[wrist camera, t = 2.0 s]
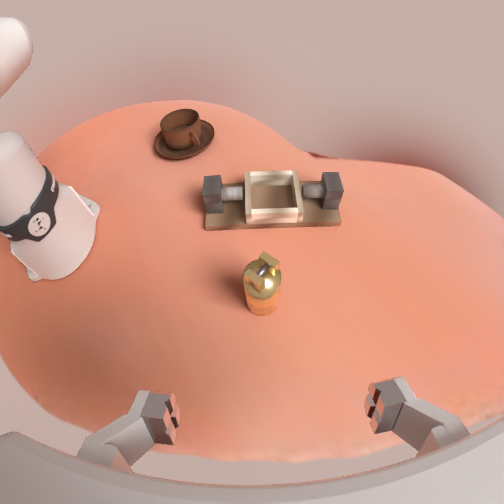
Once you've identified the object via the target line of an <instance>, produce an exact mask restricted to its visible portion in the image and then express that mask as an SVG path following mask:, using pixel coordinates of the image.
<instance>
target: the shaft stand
mask: <svg viewBox="0 0 504 504" xmlns="http://www.w3.org/2000/svg"><path fill="white" fill-rule="evenodd" d="M343 192H344V190H343V186H342V183H341V179H340V176H339V172H323V174H322V179H321V181H299V179H298V173H297V171H260V172H245V183H234V184H222V180H221V175H215V176H204V183H203V192H202V196H203V200H204V204H205V207H206V221H205V228H206V231H212V230H234V229H257V228H284V227H317V226H340V224H341V222H342V221H341V217H340V212H339V208H338V207H339V204H340V201H341V198H342V195H343Z"/></svg>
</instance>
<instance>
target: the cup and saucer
mask: <svg viewBox="0 0 504 504" xmlns="http://www.w3.org/2000/svg"><path fill="white" fill-rule="evenodd" d="M160 126H161V129H162V131H161V132H160V133H159V134H158V135H157V137H156V138H155V141H154V147H155V150H156V151H157V152H158V153H159V154H160V155H161V156H163V157H166V158H171V159H181V158H187V157H190V156H193V155H196V154H198V153H199V152H201V151H203V150H204V149H205V148H206V147H208V146H209V144H210V143H211V142H212V140H213V138H214V128H213V126H212V125H211V124H210V123H208V122H206V121H204V120H200V119H199V114H198V113H197V112H196V111H195V110H192V109H180V110H176V111H173V112H171V113H169V114H167V115H166V116H165V117H164V118H163V119H162V120H161V123H160Z"/></svg>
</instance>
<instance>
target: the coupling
mask: <svg viewBox="0 0 504 504" xmlns="http://www.w3.org/2000/svg"><path fill="white" fill-rule="evenodd" d="M279 265H280V262H279V261H278V260H276V259H275V258H273V257H272V256H270V255H269V254H267V253H266V252H264V251H263V253H262V254H261V255H260V256H259V259H258V260H255V261H252V262H251V263H249V264H248V265H247V266H246V268H245V269H244V272H243V283H244V289H245V295H246V301H247V306H248V308H249V310H250V311H251V312H252V313H254V314H256V315H259V316H265V315H269V314H270V313H272V312H273V311H274V310H275V309H276V307H277V303H278V297H279V290H280V283H281V272H280V269H279Z"/></svg>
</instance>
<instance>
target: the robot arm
mask: <svg viewBox="0 0 504 504" xmlns="http://www.w3.org/2000/svg"><path fill="white" fill-rule="evenodd" d="M32 51H33V41H32V36H31V33H30V31H29V29H28V28H27V26H26V25H25V24H24V23H23V22H21V21H20V20H18V19H15V18H11V17H0V97H1V96H2V95H4V93H6V91H7V90H8V89H9V88H10V87H11V86H12V84H13V83H14V82H15V81H16V80H17V79H18V78H19V76H20V75H21V74H22V73H23V72H24V71H25V70H26V69H27V67H28V66H29V64H30V61H31V57H32ZM99 213H100V206H99V205H98V204H97V203H96V202H94V201H92V200H90V199H88V198H86V197H84V196H82V195H80V194H78V193H76V191H75V190H74V189H73V188H72V187H71V186H69V187H68V186H67V185H65V184H62V183H59V182H57V181H56V179H55V178H54V175H53V174H52V173H51V172H50V171H49V170H48V169H47V167H45V166H43V165H41V163H40V162H39V160H38V159H37V157H36V156H35V154H34V153H33V152H32V150H31V149H30V147H29V145H28V144H27V142H26V141H25V139H24V138H23V137H22V136H21V135H20V134H19V133H17V132H14V131H4V132H0V232H1V233H2V234H3V235H4V236H5V237H7V238H8V239H9V240H10V247H11V252H12V253H13V255H14V256H16V257H17V258H18V259H19V260H20V261H21V262H22V263H23V264H24V265H25V266H26V269H27V273H28V277H29V279H30V280H31V281H33V282H35V281H38V280H41V279H50V280H56V279H61V278H63V277H65V276H67V275H69V274H70V273H72V272H73V271H74V270H76V269H77V268H78V267H79V266H80V264H81V263H82V262H83V261H84V259H85V258H86V257H87V255H88V253H89V251H90V249H91V247H92V245H93V242H94V238H95V232H96V220H97V218H98V215H99ZM368 390H369V394H368V395H367V396H366V399H365V411H366V414H367V416H368V417H369V418H371V422H370V425H371V427H372V430H373V432H374V434H378V433H382V432H387V431H391V430H392V432H394V433H395V434H396V435H398V436H399V437H400V438H402V439H403V440H404V441H406V442H407V443H408V444H410V445H411V446H412V447H414V448H415V449H416V450H418V451H419V452H418V454H417V455H416V457H414V458H412V459H409V460H405V461H402V462H399V463H396V464H392V465H389V466H385V467H381V468H378V469H374V470H370V471H365V472H361V473H357V474H352V475H347V476H342V477H336V478H330V479H324V480H316V481H308V482H299V483H288V484H272V485H220V484H204V483H193V482H184V481H175V480H168V479H162V478H156V477H150V476H145V475H140V474H135V473H134V472H133V471H132V469H131V468H130V466H131V465H133V463H135V462H136V461H137V460H138V459H139V458H140V457H141V456H143V455H144V454H145V453H146V452H147V451H148V450H149V449H150V448H151V447H153V446H154V445H155V443H158V444H167V445H174V443H175V439H176V435H177V433H176V430H175V429H176V428H177V427H178V426H179V423H180V409H179V406H178V405H177V404H175V402H176V396H175V394H174V393H168V392H159V391H149V390H140V391H138V393H137V395H136V398H135V400H134V402H133V404H132V406H131V408H130V410H129V413H128V415H126V414H124V415H123V416H121V417H119V418H118V419H116V420H115V421H113V422H111V423H110V424H108V425H106V426H105V427H103V428H101V429H100V430H98V431H96V432H95V433H93V434H91V435H90V436H88V437H86V439H85V441H84V443H83V445H82V447H81V449H80V451H79V452H78V455H77V457H75V456H72V455H70V454H67V453H64V452H62V451H59V450H56V449H54V448H51V447H49V446H47V445H44V444H42V443H40V442H37V441H35V440H33V439H31V438H29V437H27V436H25V435H23V434H21V433H18V432H10V433H6V434H4V435H1V436H0V504H504V417H502V418H500V419H499V420H497V421H495V422H493V423H492V424H490V425H488V426H486V427H484V428H482V429H480V430H478V431H476V432H475V433H472V434H470V433H469V432H468V430H467V429H466V427H465V426H464V424H463V422H462V421H461V419H460V418H459V417H458V416H455V415H453V414H451V413H449V412H447V411H445V410H443V409H441V408H439V407H437V406H434V405H432V404H430V403H428V402H426V401H424V400H422V399H417V398H416V396H415V394H414V393H413V391H412V390H411V388H410V386H409V385H408V383H407V382H406V380H405V378H404V377H402V376H400V377H395V378H392V379H386V380H381V381H377V382H371V383H370V384H369V387H368Z"/></svg>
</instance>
